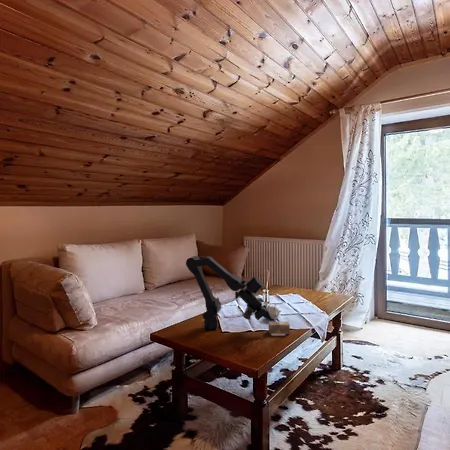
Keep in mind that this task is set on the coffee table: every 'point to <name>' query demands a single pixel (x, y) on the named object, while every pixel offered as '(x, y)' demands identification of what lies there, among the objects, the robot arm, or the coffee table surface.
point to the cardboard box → (279, 328)
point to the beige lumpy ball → (273, 311)
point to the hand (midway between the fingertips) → (270, 319)
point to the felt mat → (278, 334)
